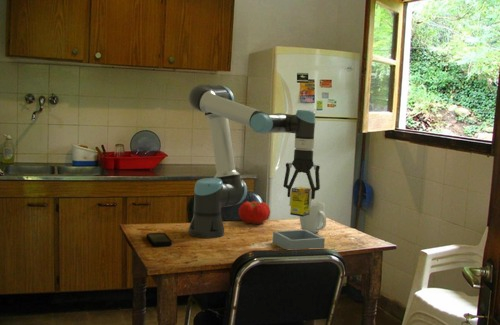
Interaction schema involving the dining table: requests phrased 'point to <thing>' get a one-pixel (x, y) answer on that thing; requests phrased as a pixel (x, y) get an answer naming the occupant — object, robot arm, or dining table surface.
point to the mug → (314, 218)
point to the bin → (297, 239)
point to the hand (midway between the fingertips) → (300, 206)
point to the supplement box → (300, 201)
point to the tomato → (254, 212)
